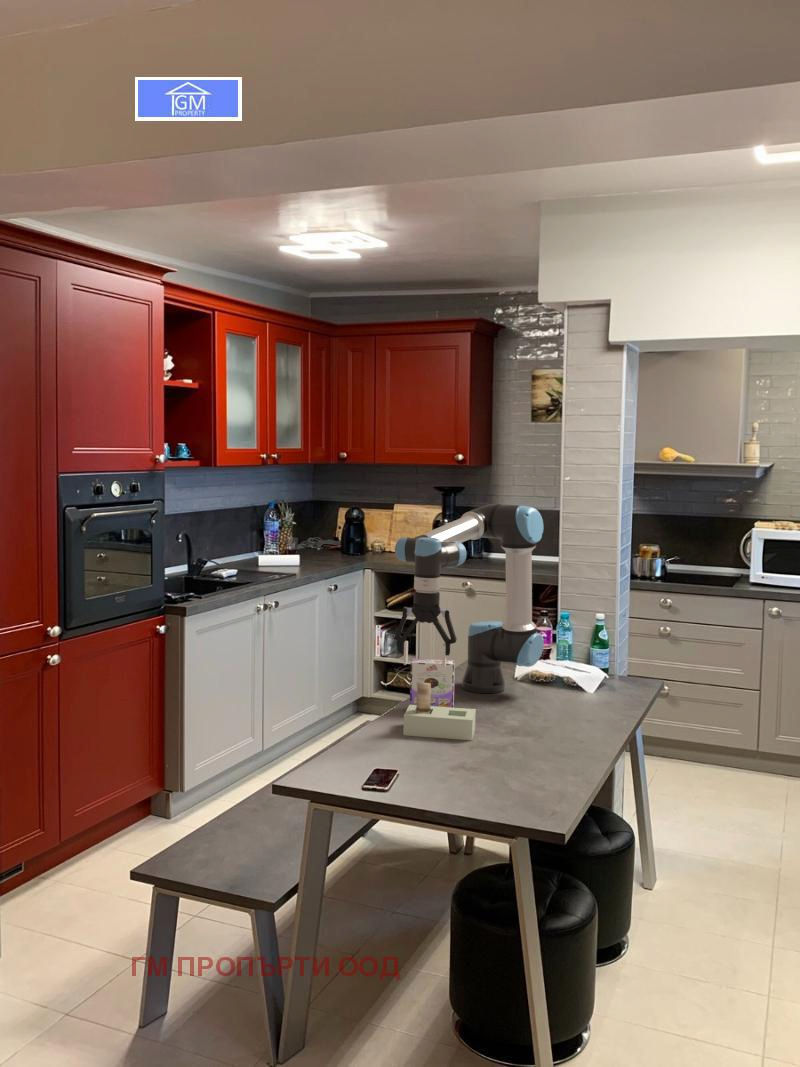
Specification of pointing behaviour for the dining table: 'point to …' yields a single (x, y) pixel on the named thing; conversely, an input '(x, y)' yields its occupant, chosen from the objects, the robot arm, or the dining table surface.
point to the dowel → (423, 698)
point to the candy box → (433, 681)
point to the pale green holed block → (440, 723)
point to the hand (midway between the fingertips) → (424, 664)
